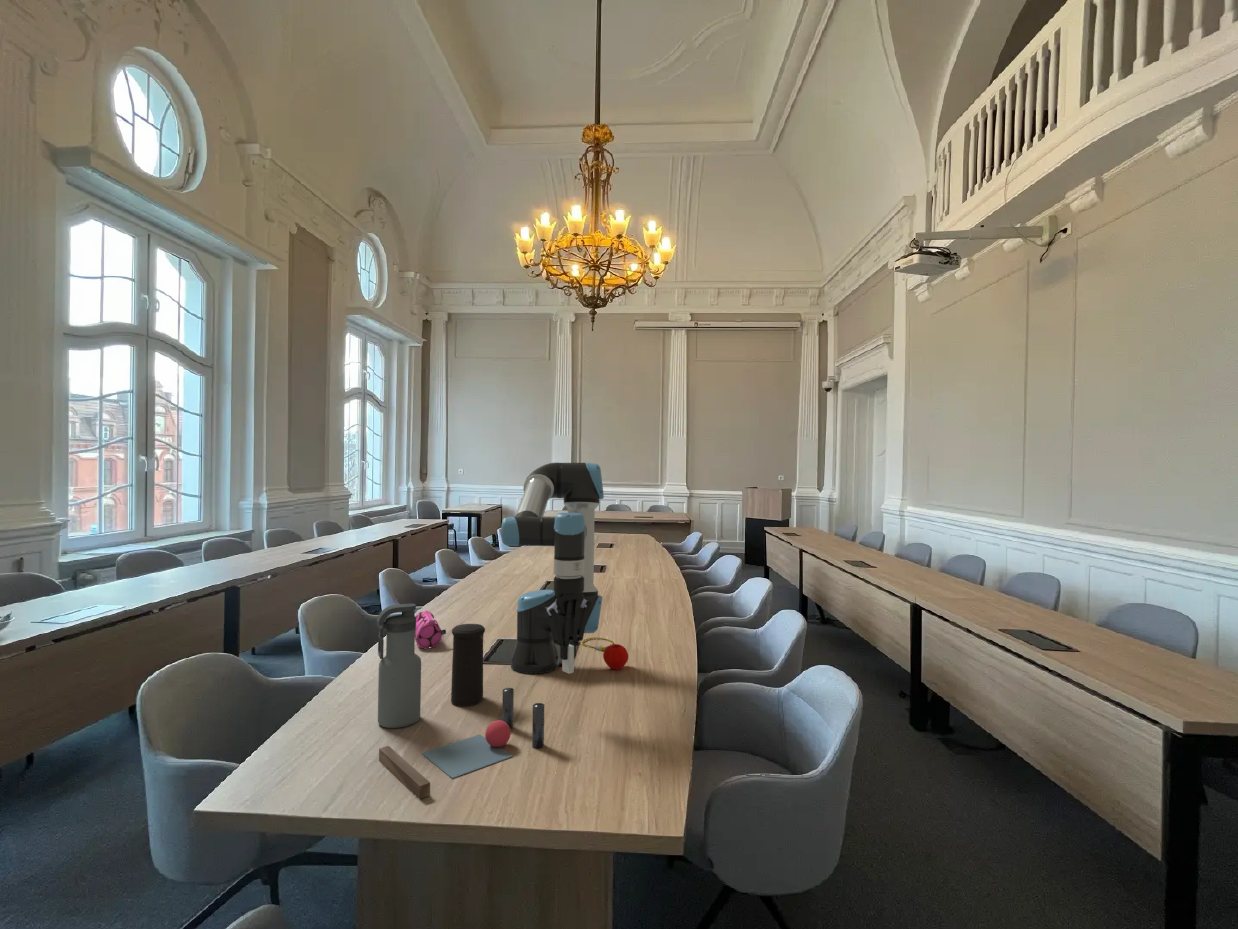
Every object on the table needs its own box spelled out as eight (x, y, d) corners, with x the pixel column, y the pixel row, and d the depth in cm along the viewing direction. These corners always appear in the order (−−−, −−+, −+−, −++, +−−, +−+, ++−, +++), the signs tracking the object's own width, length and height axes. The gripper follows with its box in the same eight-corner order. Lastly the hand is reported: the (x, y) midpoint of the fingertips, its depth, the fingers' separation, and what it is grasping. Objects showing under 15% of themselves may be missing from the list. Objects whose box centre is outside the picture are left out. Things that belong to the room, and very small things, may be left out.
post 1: (509, 724, 143) (509, 687, 144) (515, 728, 141) (515, 690, 142) (500, 727, 142) (500, 689, 142) (505, 731, 140) (506, 692, 140)
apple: (604, 663, 190) (604, 640, 191) (628, 664, 190) (629, 641, 190) (601, 672, 182) (602, 648, 183) (627, 673, 182) (627, 648, 182)
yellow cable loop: (582, 653, 203) (582, 647, 203) (581, 640, 219) (581, 635, 219) (617, 653, 204) (617, 647, 204) (614, 640, 220) (614, 635, 220)
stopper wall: (388, 757, 126) (388, 745, 126) (429, 796, 111) (430, 782, 111) (378, 760, 125) (379, 748, 125) (419, 799, 110) (419, 786, 110)
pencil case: (446, 648, 206) (446, 619, 206) (417, 651, 202) (417, 622, 202) (435, 633, 225) (435, 606, 225) (408, 636, 221) (408, 609, 221)
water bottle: (377, 733, 138) (380, 612, 138) (373, 717, 147) (375, 603, 147) (423, 724, 143) (425, 608, 143) (416, 710, 151) (418, 600, 152)
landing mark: (479, 735, 137) (479, 734, 137) (512, 757, 127) (512, 756, 127) (421, 754, 128) (421, 753, 128) (452, 779, 118) (452, 778, 118)
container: (490, 697, 161) (491, 622, 161) (471, 709, 153) (472, 631, 153) (462, 692, 164) (464, 620, 164) (443, 704, 155) (444, 627, 156)
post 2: (539, 742, 134) (540, 702, 134) (546, 746, 132) (546, 705, 132) (529, 745, 132) (530, 705, 132) (536, 749, 130) (537, 708, 131)
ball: (501, 713, 136) (480, 721, 132) (515, 721, 132) (494, 730, 128) (501, 737, 136) (480, 745, 132) (515, 746, 132) (494, 755, 128)
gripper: (556, 581, 139) (555, 682, 139) (599, 575, 148) (597, 669, 148) (538, 576, 145) (537, 673, 145) (580, 570, 153) (579, 662, 153)
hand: (567, 671), depth 146 cm, fingers closed
